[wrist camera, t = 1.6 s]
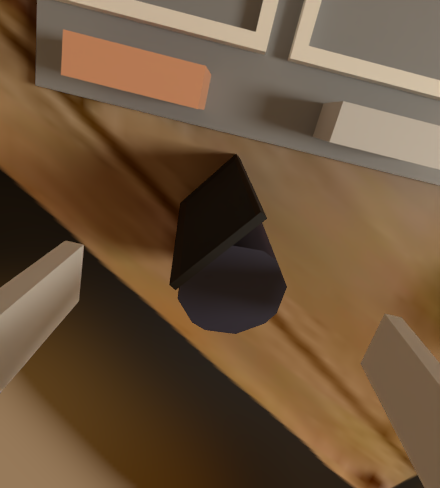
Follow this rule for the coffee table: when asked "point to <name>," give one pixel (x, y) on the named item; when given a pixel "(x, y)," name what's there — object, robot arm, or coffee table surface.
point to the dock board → (262, 70)
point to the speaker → (225, 255)
